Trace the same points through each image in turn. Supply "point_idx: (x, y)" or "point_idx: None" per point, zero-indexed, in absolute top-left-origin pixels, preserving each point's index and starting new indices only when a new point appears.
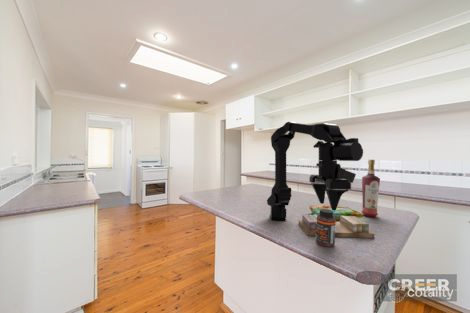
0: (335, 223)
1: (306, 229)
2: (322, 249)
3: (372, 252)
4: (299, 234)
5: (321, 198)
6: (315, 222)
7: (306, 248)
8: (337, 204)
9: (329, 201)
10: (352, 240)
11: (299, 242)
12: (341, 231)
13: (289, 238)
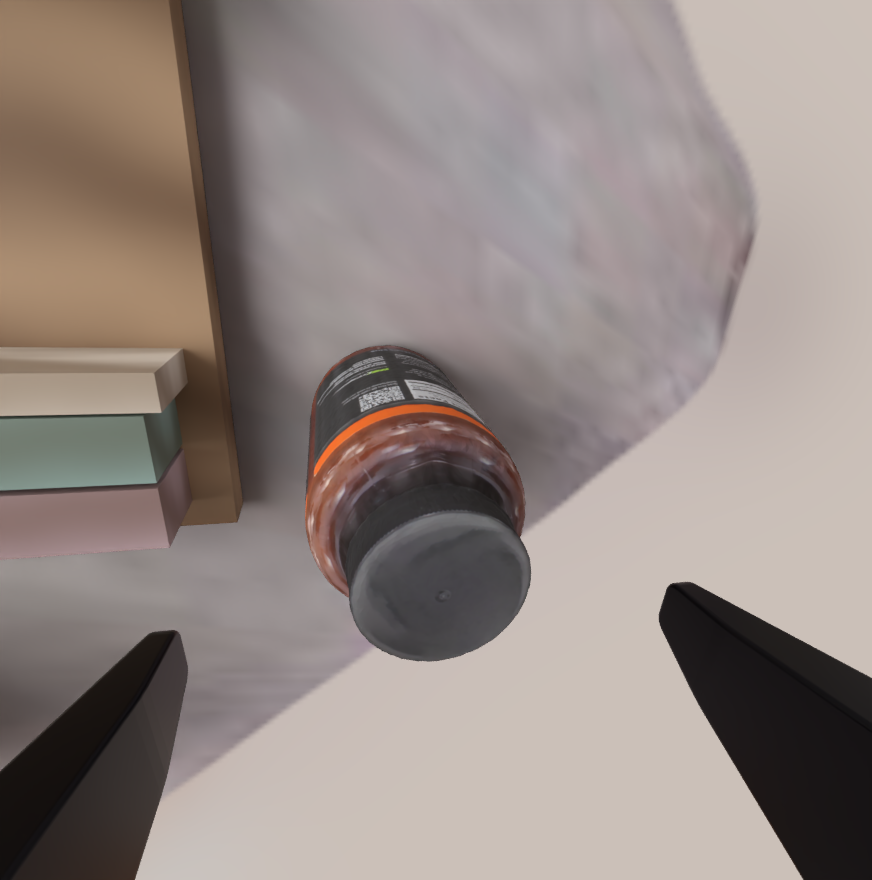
0: (473, 419)
1: (187, 521)
2: None
3: (535, 61)
4: (234, 555)
5: (141, 770)
6: (143, 480)
7: None
8: (802, 648)
9: (772, 793)
10: (285, 93)
11: None
12: (143, 145)
13: (326, 624)
